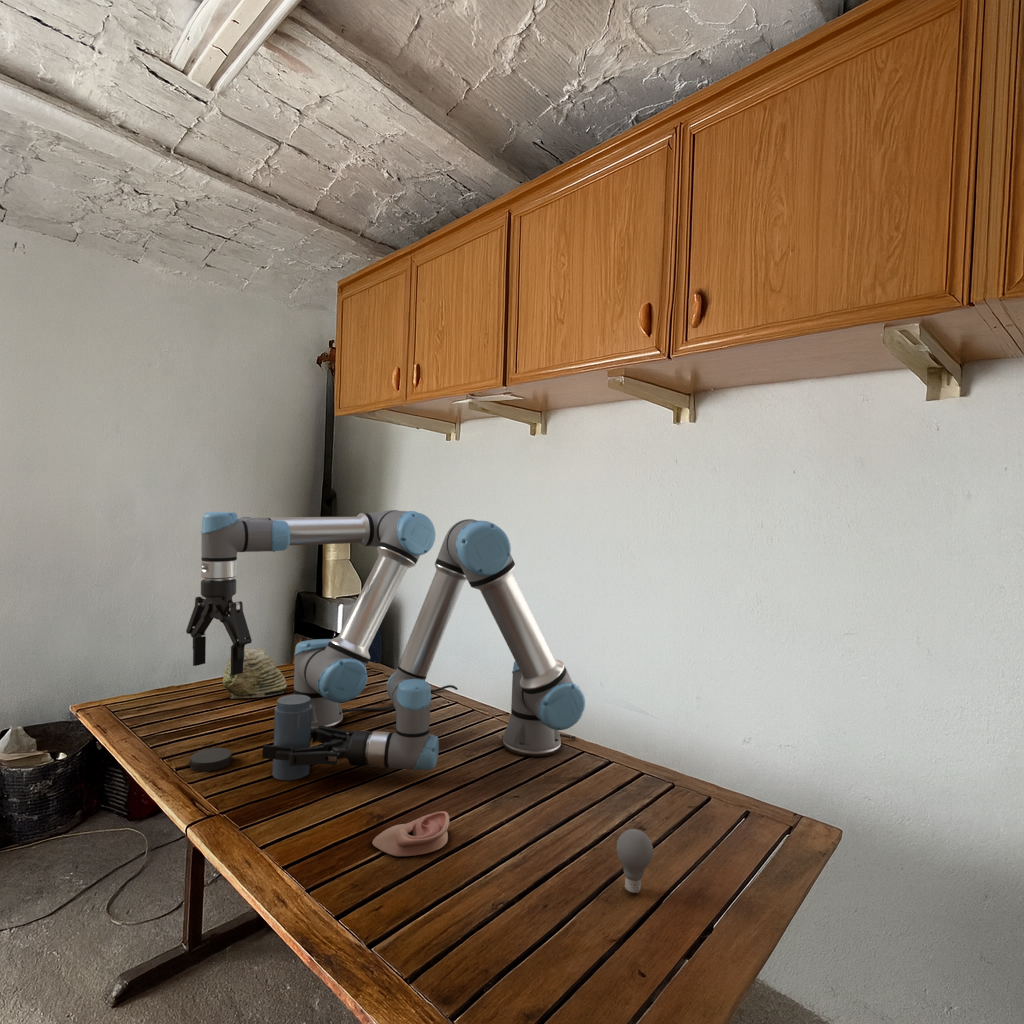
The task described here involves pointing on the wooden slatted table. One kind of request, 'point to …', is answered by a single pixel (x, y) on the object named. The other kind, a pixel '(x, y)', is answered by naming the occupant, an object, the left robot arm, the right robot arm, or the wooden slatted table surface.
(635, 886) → the light bulb
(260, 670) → the fossil
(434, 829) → the anatomical model
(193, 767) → the lid
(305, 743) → the jar
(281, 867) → the wooden slatted table surface
